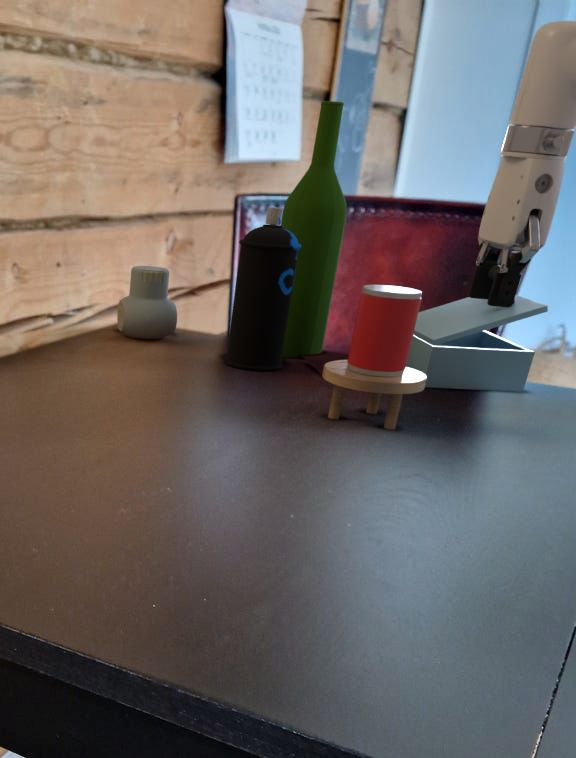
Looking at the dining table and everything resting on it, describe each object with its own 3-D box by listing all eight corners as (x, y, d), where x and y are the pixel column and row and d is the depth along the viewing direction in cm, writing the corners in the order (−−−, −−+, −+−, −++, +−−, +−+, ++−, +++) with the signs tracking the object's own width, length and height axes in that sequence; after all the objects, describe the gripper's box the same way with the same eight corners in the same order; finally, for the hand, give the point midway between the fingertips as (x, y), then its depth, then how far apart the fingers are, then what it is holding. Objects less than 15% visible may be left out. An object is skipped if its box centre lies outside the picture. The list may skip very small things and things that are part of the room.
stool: (394, 413, 102) (406, 362, 99) (428, 441, 93) (443, 385, 90) (303, 409, 101) (313, 357, 98) (329, 436, 92) (340, 380, 89)
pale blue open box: (475, 371, 126) (486, 330, 123) (521, 397, 113) (535, 351, 110) (385, 367, 125) (394, 325, 122) (421, 392, 113) (432, 346, 110)
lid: (497, 294, 121) (495, 256, 118) (548, 311, 108) (546, 269, 106) (395, 325, 122) (391, 288, 120) (433, 346, 110) (430, 305, 107)
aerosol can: (222, 368, 119) (243, 207, 109) (225, 356, 126) (244, 204, 116) (282, 373, 118) (308, 211, 108) (281, 361, 125) (305, 208, 115)
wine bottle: (330, 353, 132) (376, 105, 116) (306, 362, 125) (352, 100, 109) (278, 344, 136) (315, 103, 120) (252, 351, 130) (288, 98, 113)
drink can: (393, 365, 97) (410, 286, 93) (412, 378, 91) (432, 295, 87) (339, 363, 96) (354, 283, 92) (355, 375, 91) (372, 291, 87)
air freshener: (114, 328, 140) (118, 262, 135) (164, 330, 141) (170, 265, 136) (124, 342, 130) (129, 271, 125) (177, 344, 131) (184, 274, 126)
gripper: (603, 150, 98) (547, 316, 107) (531, 147, 113) (487, 294, 122) (540, 144, 97) (490, 311, 107) (476, 142, 112) (437, 289, 121)
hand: (489, 300), depth 114 cm, fingers closed on lid, 5 cm apart
